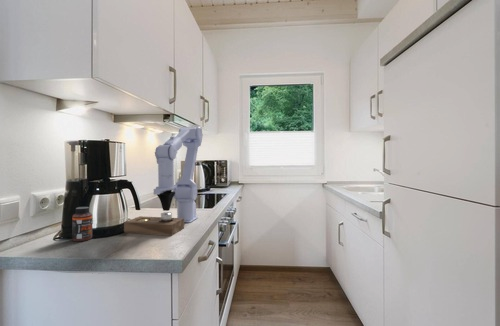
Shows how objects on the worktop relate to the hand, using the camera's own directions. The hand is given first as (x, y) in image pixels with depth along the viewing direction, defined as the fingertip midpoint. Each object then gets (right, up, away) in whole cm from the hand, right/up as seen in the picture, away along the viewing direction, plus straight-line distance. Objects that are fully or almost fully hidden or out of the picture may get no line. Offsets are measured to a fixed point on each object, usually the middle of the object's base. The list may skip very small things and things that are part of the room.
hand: (166, 210), depth 101 cm
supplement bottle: (-26, -9, -10) cm, 30 cm away
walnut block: (-5, -8, +1) cm, 10 cm away
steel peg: (0, -5, 0) cm, 5 cm away
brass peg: (-10, -8, +2) cm, 13 cm away
